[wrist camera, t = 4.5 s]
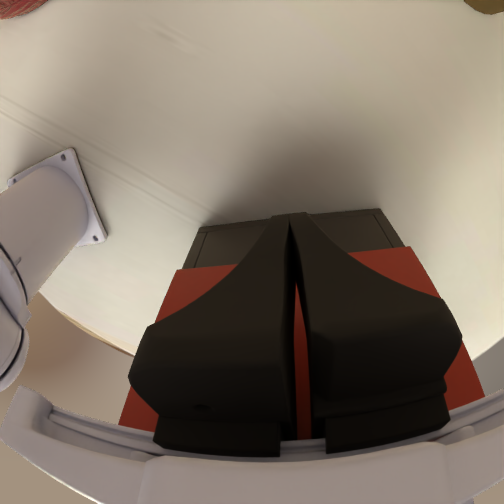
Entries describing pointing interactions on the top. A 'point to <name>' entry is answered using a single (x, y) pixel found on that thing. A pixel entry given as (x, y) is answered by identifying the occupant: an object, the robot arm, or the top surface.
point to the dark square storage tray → (332, 224)
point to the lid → (382, 261)
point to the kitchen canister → (18, 7)
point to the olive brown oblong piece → (487, 6)
